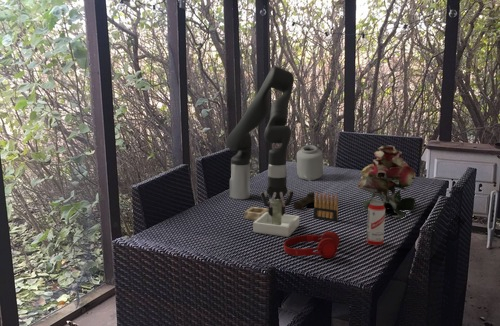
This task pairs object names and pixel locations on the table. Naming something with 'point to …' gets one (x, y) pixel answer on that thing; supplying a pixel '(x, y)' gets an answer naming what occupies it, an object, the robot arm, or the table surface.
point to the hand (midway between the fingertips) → (276, 215)
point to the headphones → (325, 246)
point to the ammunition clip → (326, 208)
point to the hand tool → (304, 201)
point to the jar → (309, 163)
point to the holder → (254, 213)
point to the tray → (284, 229)
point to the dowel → (277, 212)
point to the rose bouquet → (388, 180)
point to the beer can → (375, 223)
